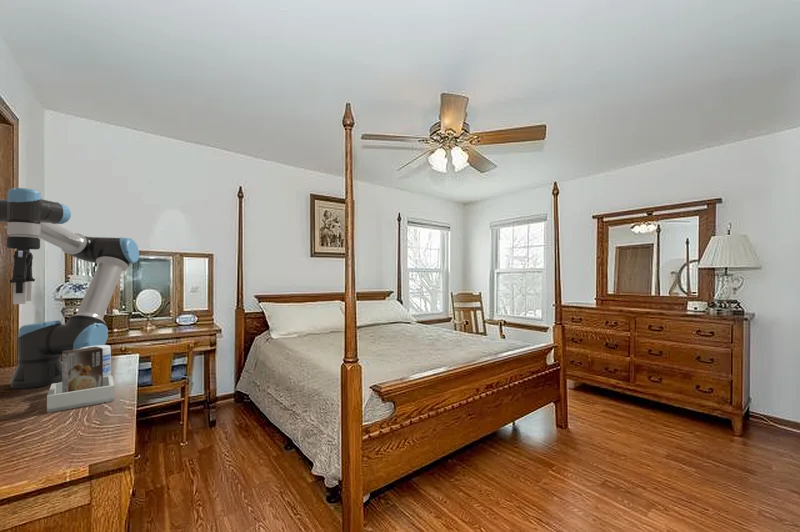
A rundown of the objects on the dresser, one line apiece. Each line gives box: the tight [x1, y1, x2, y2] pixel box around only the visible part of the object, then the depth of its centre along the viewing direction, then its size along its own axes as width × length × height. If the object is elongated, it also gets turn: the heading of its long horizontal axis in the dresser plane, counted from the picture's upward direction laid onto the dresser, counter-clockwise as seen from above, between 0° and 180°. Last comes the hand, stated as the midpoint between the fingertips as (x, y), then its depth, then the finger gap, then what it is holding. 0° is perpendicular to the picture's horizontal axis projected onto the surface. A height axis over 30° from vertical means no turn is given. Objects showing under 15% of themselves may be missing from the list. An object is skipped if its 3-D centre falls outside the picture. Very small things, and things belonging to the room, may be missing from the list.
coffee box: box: [61, 347, 103, 393], centre depth 120 cm, size 9×6×16 cm
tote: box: [46, 374, 115, 414], centre depth 121 cm, size 16×16×5 cm
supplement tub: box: [79, 344, 112, 376], centre depth 134 cm, size 10×10×15 cm
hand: (22, 302), depth 117 cm, fingers open, 13 cm apart
